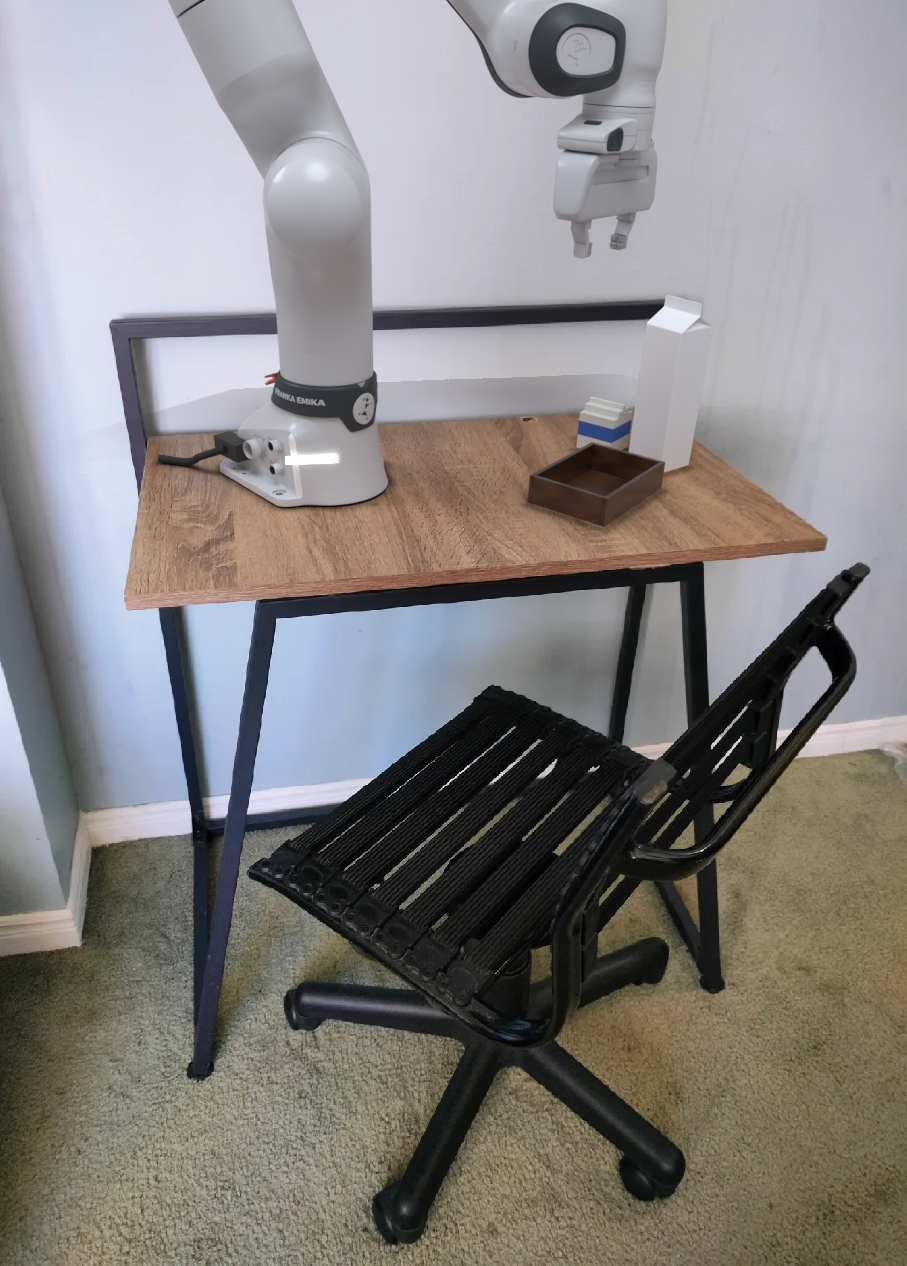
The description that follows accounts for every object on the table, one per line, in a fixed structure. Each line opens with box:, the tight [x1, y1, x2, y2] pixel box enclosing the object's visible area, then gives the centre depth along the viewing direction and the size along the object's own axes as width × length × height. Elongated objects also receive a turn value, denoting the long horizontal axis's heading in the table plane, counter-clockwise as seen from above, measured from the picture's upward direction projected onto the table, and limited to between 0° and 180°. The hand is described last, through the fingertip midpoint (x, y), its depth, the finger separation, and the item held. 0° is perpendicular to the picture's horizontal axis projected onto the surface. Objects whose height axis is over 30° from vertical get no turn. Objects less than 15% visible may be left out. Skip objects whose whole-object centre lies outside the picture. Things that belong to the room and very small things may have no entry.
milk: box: [628, 294, 714, 473], centre depth 120 cm, size 6×6×22 cm
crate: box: [527, 442, 665, 528], centre depth 115 cm, size 11×15×4 cm
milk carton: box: [575, 395, 634, 450], centre depth 129 cm, size 5×5×7 cm
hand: (600, 253), depth 120 cm, fingers open, 8 cm apart
